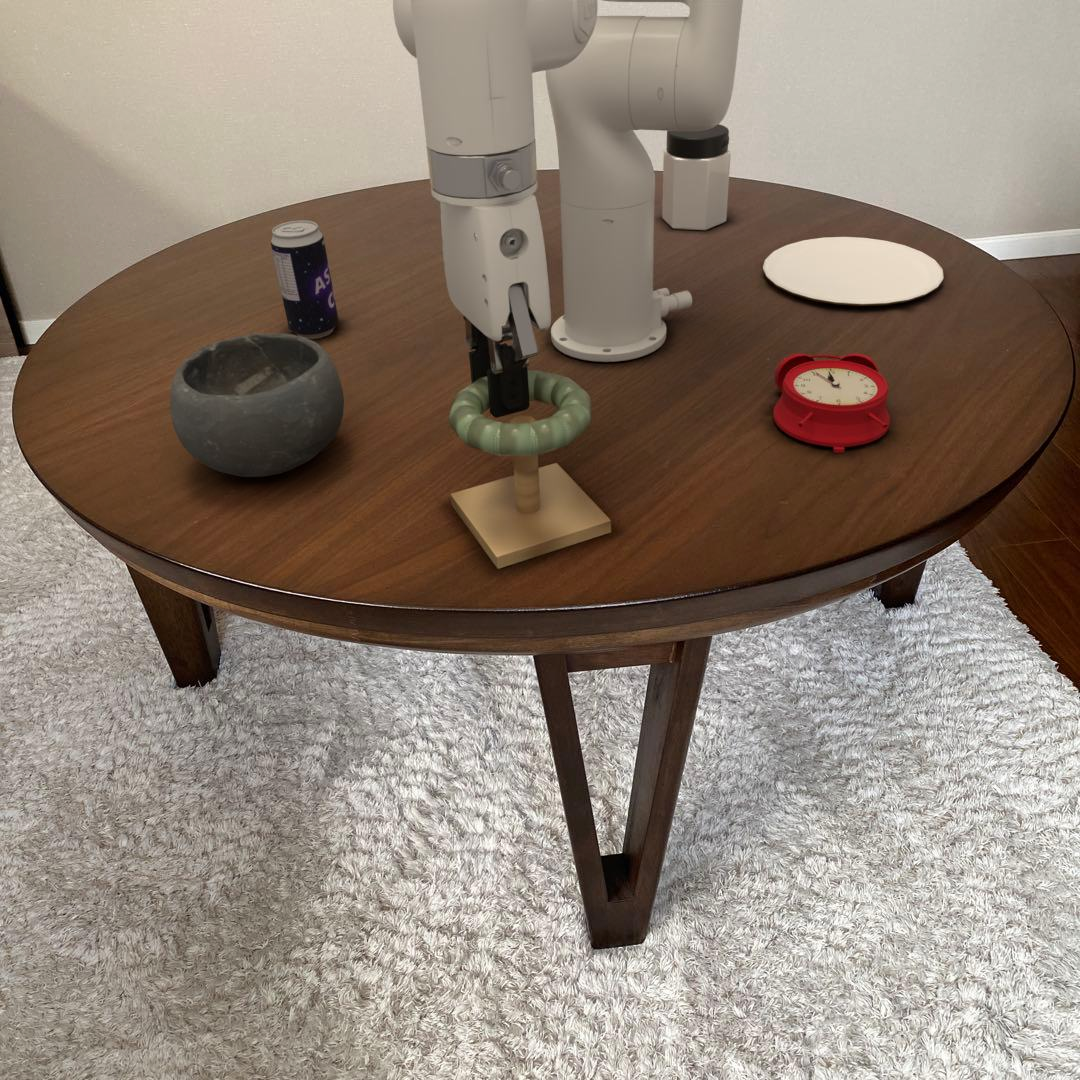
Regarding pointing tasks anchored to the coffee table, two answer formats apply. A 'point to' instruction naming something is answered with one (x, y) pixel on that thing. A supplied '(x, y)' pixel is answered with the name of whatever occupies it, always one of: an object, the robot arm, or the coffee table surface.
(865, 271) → the plate
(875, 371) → the alarm clock
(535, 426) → the ring
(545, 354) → the coffee table surface
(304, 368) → the bowl
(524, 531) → the stand
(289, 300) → the beverage can
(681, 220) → the jar
